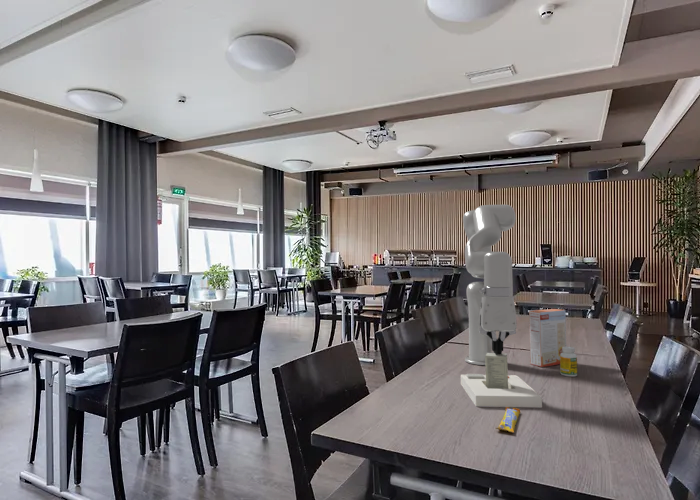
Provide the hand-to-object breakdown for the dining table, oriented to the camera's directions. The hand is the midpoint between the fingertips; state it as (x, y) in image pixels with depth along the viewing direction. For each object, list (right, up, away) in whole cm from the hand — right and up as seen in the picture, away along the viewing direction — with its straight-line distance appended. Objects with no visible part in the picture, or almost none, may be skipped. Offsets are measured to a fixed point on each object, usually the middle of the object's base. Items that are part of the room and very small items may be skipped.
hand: (497, 353), depth 134 cm
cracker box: (+32, -13, +38) cm, 52 cm away
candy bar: (-5, -13, -22) cm, 26 cm away
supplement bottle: (+32, -13, +22) cm, 41 cm away
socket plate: (0, -12, 0) cm, 12 cm away
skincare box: (0, -13, 0) cm, 13 cm away
